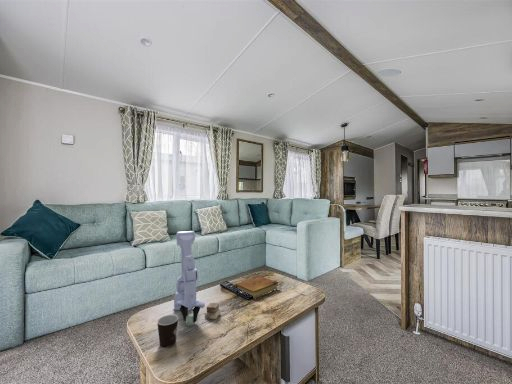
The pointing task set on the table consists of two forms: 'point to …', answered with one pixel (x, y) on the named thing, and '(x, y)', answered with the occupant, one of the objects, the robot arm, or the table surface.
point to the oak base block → (212, 314)
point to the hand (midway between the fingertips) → (190, 321)
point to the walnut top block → (212, 307)
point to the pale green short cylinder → (189, 320)
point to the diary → (257, 286)
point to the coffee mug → (167, 330)
